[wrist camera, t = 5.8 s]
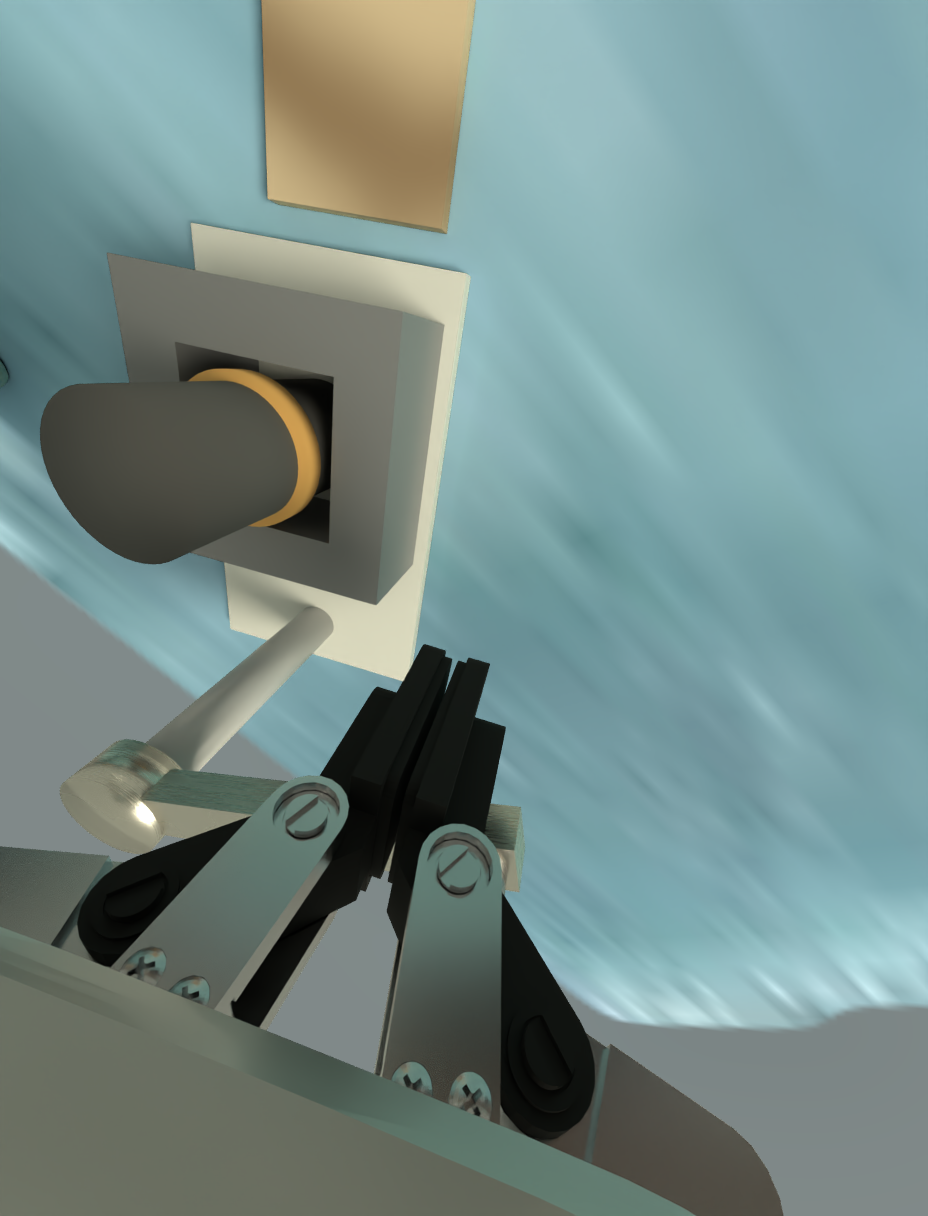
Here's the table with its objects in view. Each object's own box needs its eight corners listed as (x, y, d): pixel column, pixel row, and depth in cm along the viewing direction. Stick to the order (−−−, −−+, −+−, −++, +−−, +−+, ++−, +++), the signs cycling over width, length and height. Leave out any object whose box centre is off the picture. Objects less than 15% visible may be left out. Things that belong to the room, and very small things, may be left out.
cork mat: (273, -24, 13) (260, -40, 12) (475, -2, 12) (470, -18, 12) (278, 204, 15) (267, 198, 15) (446, 233, 15) (441, 229, 14)
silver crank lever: (136, 805, 15) (74, 864, 13) (92, 736, 14) (16, 791, 12) (528, 860, 12) (517, 951, 10) (519, 774, 10) (504, 861, 8)
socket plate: (203, 227, 16) (-255, 54, 7) (470, 276, 15) (305, 141, 6) (238, 623, 25) (43, 763, 16) (411, 675, 23) (305, 859, 15)
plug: (265, 358, 17) (0, 347, 9) (378, 382, 17) (195, 392, 9) (270, 478, 19) (60, 549, 12) (369, 504, 19) (218, 595, 11)
